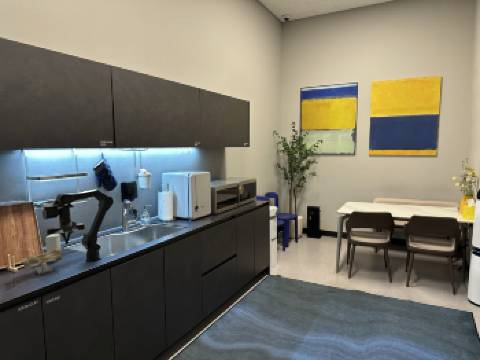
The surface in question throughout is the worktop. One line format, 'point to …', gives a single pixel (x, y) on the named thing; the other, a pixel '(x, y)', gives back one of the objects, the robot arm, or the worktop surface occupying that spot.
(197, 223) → the worktop surface
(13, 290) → the worktop surface
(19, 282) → the worktop surface
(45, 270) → the pivot stand
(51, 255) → the lever
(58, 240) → the skincare box
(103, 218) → the robot arm
